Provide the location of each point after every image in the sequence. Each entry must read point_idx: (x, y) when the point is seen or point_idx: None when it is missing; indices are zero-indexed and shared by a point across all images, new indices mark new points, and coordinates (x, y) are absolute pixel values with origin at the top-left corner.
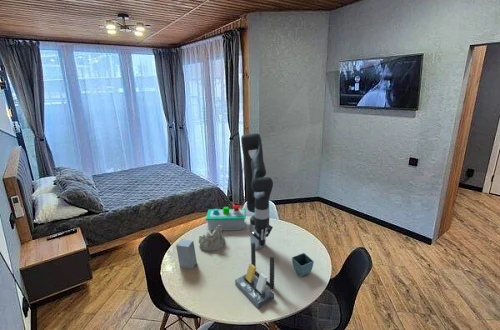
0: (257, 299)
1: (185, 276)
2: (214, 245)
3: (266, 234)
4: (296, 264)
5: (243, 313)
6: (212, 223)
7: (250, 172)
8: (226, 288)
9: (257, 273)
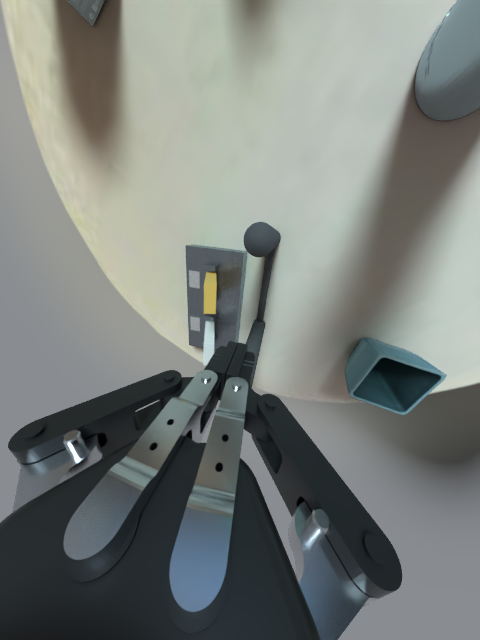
0: (195, 336)
1: (69, 67)
2: None
3: (258, 442)
4: (359, 368)
5: (166, 324)
6: None
7: None
8: (167, 239)
9: (267, 263)
